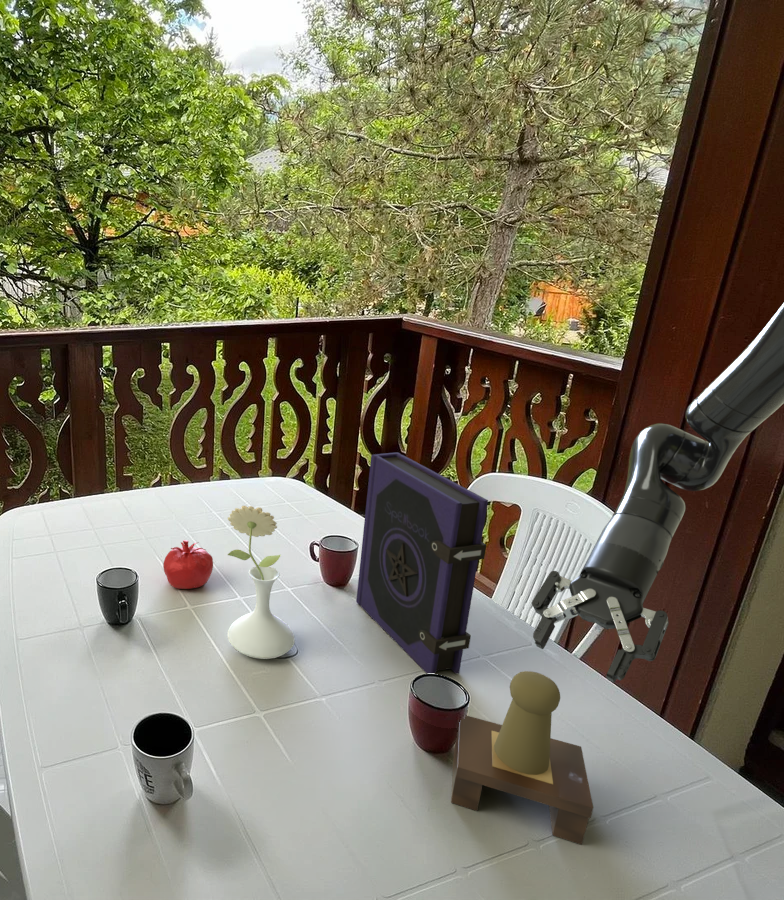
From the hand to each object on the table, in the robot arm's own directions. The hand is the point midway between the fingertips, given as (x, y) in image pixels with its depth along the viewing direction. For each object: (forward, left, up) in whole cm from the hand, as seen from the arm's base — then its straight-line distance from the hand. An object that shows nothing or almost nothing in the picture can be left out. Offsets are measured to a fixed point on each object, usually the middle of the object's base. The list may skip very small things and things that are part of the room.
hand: (573, 662), depth 81 cm
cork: (+5, +10, -9) cm, 14 cm away
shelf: (+5, +10, -15) cm, 18 cm away
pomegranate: (+63, -21, -15) cm, 68 cm away
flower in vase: (+44, -7, -15) cm, 47 cm away
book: (+21, -20, -15) cm, 33 cm away
